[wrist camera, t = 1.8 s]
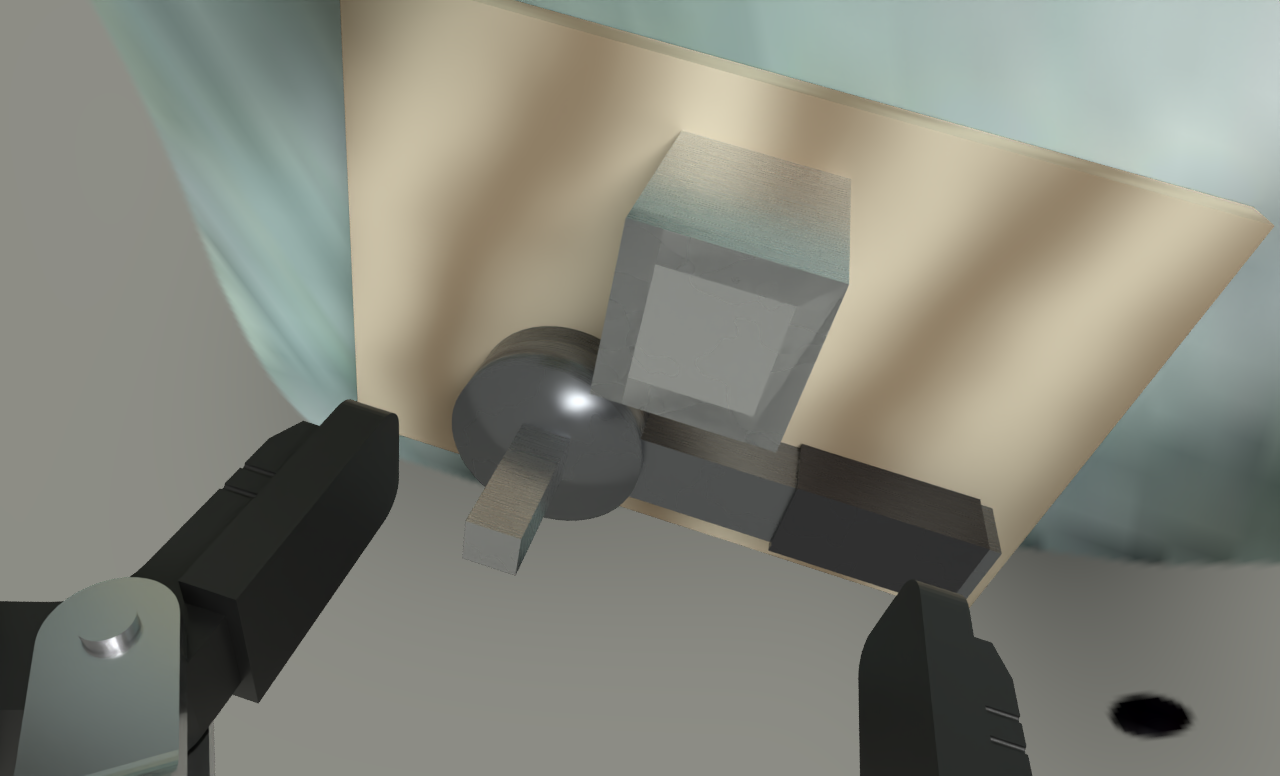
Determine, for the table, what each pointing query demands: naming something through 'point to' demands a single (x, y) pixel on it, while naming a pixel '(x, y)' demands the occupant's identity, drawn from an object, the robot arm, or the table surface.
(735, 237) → the grey pocketed block
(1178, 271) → the board
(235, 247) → the table surface
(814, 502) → the ratchet
